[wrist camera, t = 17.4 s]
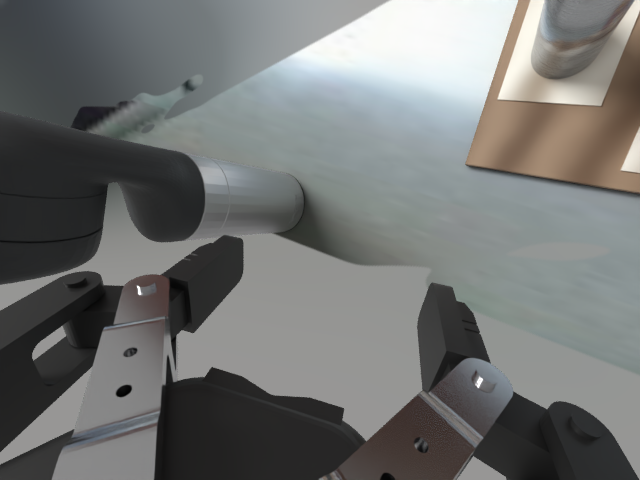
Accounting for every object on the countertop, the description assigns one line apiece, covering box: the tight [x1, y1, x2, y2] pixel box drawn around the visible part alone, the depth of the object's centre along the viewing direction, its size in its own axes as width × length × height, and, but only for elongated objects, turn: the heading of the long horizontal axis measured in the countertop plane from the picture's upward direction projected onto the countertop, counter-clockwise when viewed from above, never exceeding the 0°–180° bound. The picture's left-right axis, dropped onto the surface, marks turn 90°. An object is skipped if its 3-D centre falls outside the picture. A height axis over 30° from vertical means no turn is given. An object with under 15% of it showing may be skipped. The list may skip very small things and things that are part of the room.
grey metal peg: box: [531, 0, 635, 79], centre depth 21 cm, size 5×5×11 cm
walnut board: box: [465, 0, 640, 194], centre depth 24 cm, size 22×16×1 cm
